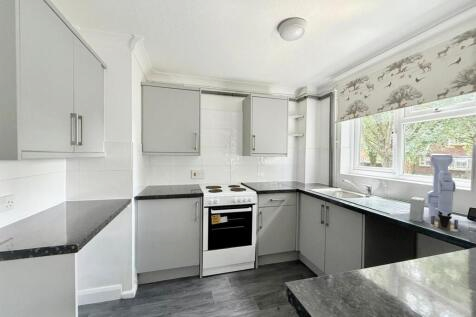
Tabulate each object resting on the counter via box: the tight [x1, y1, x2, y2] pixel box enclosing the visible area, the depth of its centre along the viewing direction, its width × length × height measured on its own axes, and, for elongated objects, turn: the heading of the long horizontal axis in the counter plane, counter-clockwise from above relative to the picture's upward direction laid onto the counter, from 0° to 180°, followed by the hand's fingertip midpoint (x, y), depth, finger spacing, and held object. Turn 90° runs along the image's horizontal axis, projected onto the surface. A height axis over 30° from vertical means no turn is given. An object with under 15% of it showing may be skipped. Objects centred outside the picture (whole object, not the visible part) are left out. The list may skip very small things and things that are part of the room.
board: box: [430, 220, 459, 233], centre depth 120 cm, size 15×11×1 cm
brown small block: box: [437, 219, 452, 231], centre depth 116 cm, size 5×5×4 cm
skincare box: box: [408, 196, 426, 223], centre depth 131 cm, size 8×6×15 cm
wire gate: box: [430, 216, 459, 230], centre depth 120 cm, size 3×11×5 cm, turn 44°
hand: (444, 225), depth 116 cm, fingers open, 7 cm apart
